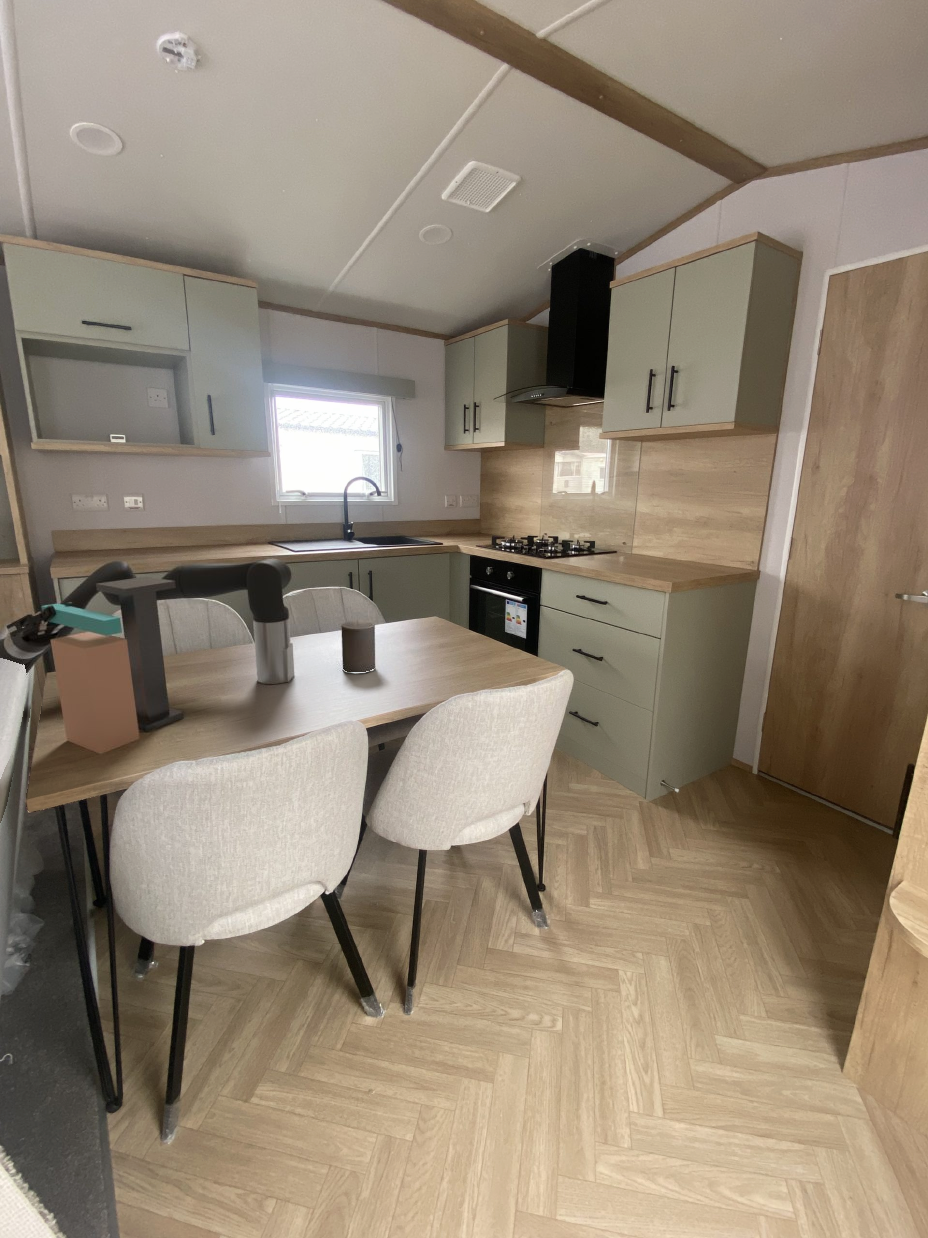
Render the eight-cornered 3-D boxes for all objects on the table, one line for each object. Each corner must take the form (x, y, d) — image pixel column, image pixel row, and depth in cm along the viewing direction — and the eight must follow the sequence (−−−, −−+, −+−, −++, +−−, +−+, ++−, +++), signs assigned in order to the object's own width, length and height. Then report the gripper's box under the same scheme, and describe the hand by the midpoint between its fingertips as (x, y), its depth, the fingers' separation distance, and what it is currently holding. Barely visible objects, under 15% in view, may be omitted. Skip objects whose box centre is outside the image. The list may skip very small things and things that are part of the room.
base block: (67, 740, 116) (50, 639, 111) (106, 726, 123) (92, 630, 118) (100, 754, 111) (84, 649, 105) (139, 738, 118) (126, 639, 112)
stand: (115, 724, 124) (95, 583, 116) (161, 708, 133) (146, 576, 126) (143, 734, 119) (124, 588, 112) (189, 716, 129) (174, 581, 121)
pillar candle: (335, 671, 161) (334, 621, 158) (354, 662, 170) (353, 614, 166) (364, 676, 158) (363, 625, 154) (382, 666, 167) (381, 618, 163)
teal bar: (43, 620, 116) (41, 606, 115) (59, 617, 118) (57, 603, 117) (106, 636, 106) (104, 620, 105) (122, 632, 108) (120, 617, 107)
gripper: (71, 645, 129) (105, 617, 120) (-1, 661, 117) (30, 632, 108) (58, 615, 129) (90, 586, 120) (-15, 628, 117) (15, 597, 108)
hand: (62, 608), depth 114 cm, fingers closed on teal bar, 3 cm apart
